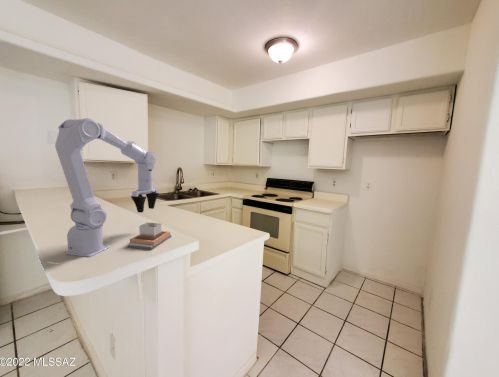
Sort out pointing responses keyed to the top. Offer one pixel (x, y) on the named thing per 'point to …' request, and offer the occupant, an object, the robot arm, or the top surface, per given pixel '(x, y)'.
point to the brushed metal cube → (150, 231)
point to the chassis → (148, 241)
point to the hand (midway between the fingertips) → (146, 210)
